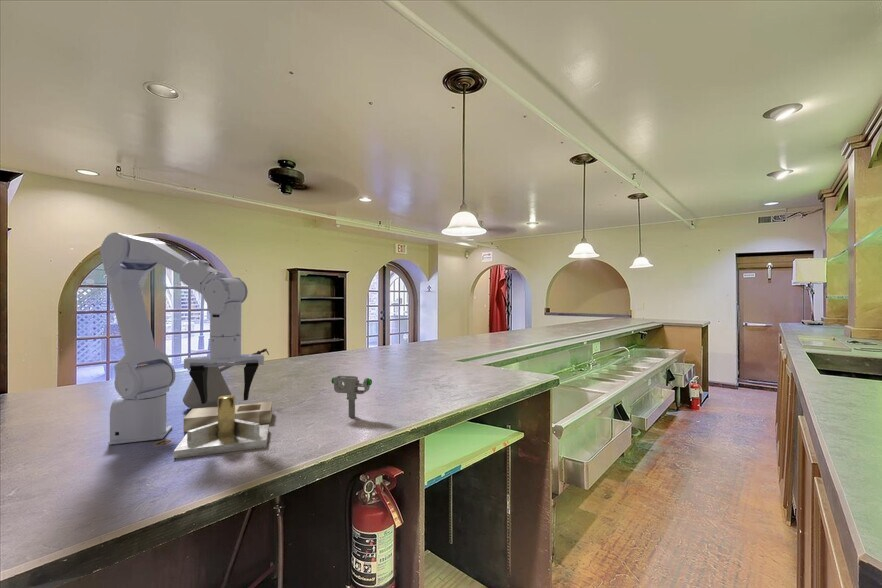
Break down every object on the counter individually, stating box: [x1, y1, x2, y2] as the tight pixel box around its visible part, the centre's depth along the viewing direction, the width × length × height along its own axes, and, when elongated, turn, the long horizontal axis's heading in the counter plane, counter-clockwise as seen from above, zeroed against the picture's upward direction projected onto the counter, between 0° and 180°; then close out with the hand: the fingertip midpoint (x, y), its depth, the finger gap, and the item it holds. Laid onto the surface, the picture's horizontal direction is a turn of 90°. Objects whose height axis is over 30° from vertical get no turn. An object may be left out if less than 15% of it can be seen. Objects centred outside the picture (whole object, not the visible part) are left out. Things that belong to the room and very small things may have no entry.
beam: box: [183, 401, 273, 433], centre depth 96 cm, size 18×8×3 cm, turn 111°
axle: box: [218, 394, 236, 438], centre depth 83 cm, size 3×3×8 cm
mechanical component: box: [331, 375, 373, 418], centre depth 100 cm, size 3×10×10 cm, turn 79°
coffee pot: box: [182, 348, 270, 411], centre depth 111 cm, size 21×12×15 cm, turn 123°
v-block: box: [173, 419, 270, 459], centre depth 82 cm, size 16×10×4 cm, turn 110°
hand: (225, 400), depth 82 cm, fingers open, 7 cm apart
